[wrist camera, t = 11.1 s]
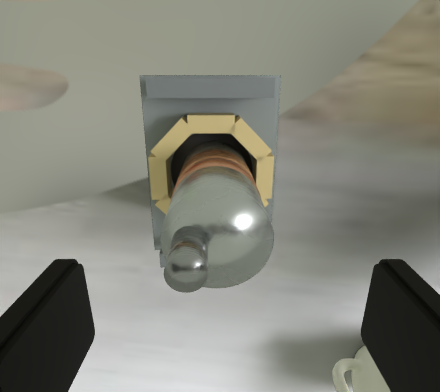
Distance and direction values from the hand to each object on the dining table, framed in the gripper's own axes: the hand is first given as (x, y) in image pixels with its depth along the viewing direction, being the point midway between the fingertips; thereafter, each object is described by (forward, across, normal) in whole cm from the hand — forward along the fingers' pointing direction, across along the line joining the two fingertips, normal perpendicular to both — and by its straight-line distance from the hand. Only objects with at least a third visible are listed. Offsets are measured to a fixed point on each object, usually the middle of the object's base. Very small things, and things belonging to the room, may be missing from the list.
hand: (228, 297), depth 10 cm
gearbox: (+23, +1, 0) cm, 23 cm away
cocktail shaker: (+15, +1, 0) cm, 15 cm away
